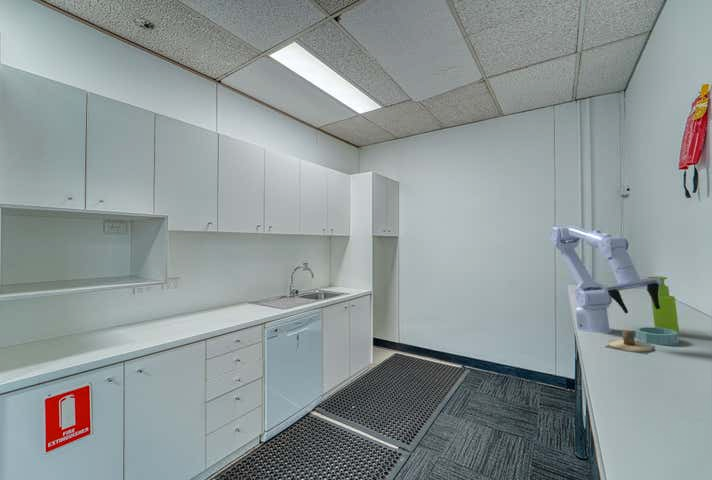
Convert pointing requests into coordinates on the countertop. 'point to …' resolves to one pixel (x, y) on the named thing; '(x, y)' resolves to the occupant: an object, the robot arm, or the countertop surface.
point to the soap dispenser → (665, 308)
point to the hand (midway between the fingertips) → (642, 310)
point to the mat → (634, 352)
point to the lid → (629, 343)
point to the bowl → (657, 335)
